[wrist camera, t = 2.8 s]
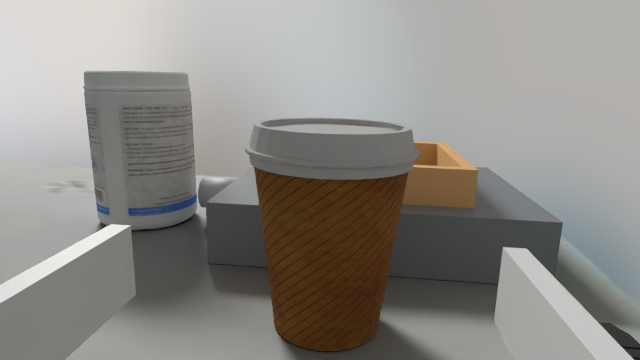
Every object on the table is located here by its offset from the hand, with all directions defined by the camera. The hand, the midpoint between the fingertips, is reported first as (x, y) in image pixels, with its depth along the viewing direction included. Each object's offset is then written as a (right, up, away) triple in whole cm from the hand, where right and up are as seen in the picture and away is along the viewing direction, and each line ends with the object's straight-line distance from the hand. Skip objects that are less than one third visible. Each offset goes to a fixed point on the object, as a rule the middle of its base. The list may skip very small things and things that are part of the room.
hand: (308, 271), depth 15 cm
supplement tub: (-17, -1, +30) cm, 34 cm away
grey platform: (+4, -2, +28) cm, 28 cm away
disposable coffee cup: (+1, -6, +11) cm, 13 cm away
